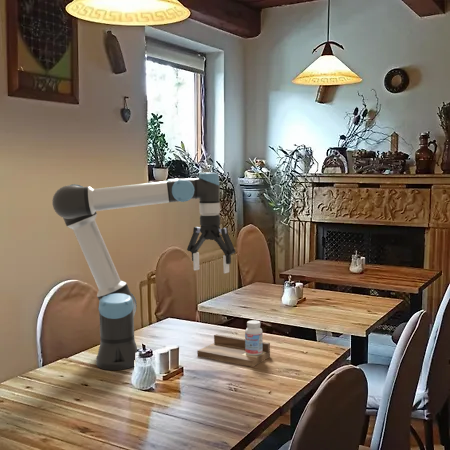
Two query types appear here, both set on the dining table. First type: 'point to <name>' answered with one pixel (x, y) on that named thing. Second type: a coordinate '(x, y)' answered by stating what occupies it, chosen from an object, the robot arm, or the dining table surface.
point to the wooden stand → (233, 351)
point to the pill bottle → (253, 338)
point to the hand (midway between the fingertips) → (211, 271)
